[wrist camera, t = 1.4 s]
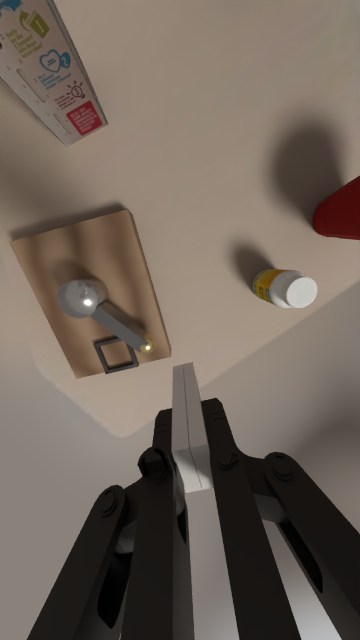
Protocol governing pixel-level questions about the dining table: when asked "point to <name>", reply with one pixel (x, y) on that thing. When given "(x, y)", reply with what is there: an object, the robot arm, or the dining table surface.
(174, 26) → the dining table surface
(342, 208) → the plastic cup
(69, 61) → the juice carton
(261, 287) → the supplement bottle
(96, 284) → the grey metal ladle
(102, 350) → the lever stand
